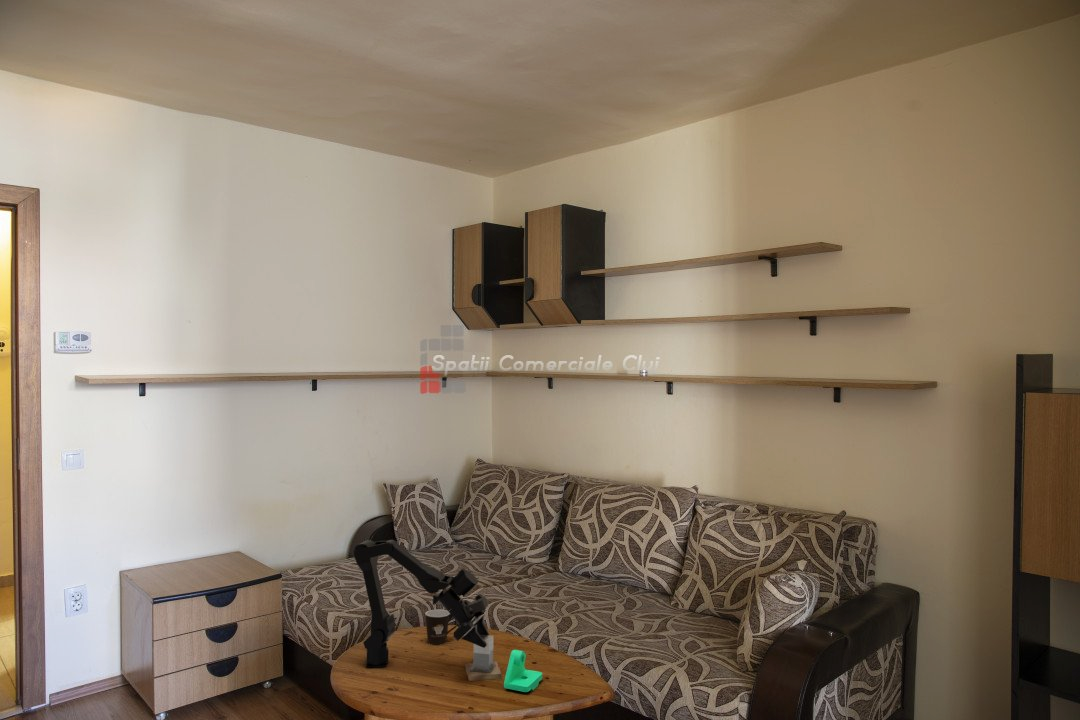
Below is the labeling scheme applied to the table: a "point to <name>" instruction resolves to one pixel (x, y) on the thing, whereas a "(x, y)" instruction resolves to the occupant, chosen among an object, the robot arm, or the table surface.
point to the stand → (483, 676)
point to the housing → (483, 656)
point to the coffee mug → (437, 626)
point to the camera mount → (520, 674)
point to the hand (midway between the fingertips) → (487, 643)
